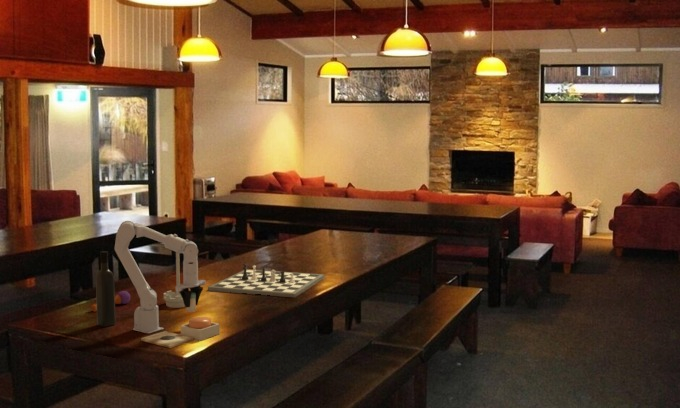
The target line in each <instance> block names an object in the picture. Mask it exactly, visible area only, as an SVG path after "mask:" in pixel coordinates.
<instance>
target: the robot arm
mask: <svg viewBox="0 0 680 408" xmlns="http://www.w3.org/2000/svg"><path fill="white" fill-rule="evenodd" d="M135 235H136V237H135ZM134 237H135V238H141V237H142V238H143V237H145V238H148V239H151V240H154V241H157V242H158V243H161V244H163V245H164V248H165V249H169V250H170V251H173V252H175V253H176V252H178V253H179V254H183V261H182V265H183V266H182V270H183V271H182V272H183V273H182V275H183V276H182V277H183V278H182V279H183V283H180V285H178V286H177V285H175V292H176V291H178V292H179V293H180V294H181V296H182V298H183V301H184V305H185V307H184V308H187V307H190V298H191V293H192V292H194V293H196V306H198V304H199V299H200V296H201V294H202V292H203V290H204V287H203V286H206V283H207V282H206V280H205V279H200V280H199V261H198V259H199V258H198V254H199V249H198V246H197V244H196V243H195V242H194V241H192V240H189V239H188V238H186V239H184V238H181V237H179V236H178V234H176V233H174V234H172V233H170V234H167V235H166V234H164V233H161V232H159V231H156V230H155V229H152V228H151V227H150V228H149V227H148V226H146V225H143V224H140V223H138V222H133V221H131V220H125V221H122V222H121V223H120V225H119V227H118V229H117V231H116V234H115V241H114V242H115V244H114V251H115V253H116V255H117V257H118V259H119V260H120V262H121V265H122V266H123V268H124V270H125V271H126V273H127V275H128V277H129V279H130V280H131V283H132V284H133V286H134V288H135V289H136V292H137V296H138V297H139V299H140V300H139V302H140V303H139V304H140V306H138V307H136V309H135V310H134V313H133V324H134V325H133V328H132V331H137V332H139V333H140V332H141V333H144V334H152V333H155V332H158V331H162V330H164V329H165V328H164V327H162V326H161V327H160V322H159V320H160V319H159V317H160V316H159V305H157V303H158V299H157V298H158V294H157V291H155V290H154V289H153V288H151V286H150V285H149V283H148V282H147V281H146V279H145V276H144V274H143V273H142V272H141V269H140V267H139V266H138V264H137V262H136V260H135V259H134V256H133V255H132V252H131V251H130V249H129V246H130V244H131V243H130V242H131V241H132V240H133V239H134ZM189 290H190V291H189Z"/></svg>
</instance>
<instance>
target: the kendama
mask: <svg viewBox="0 0 680 408" xmlns="http://www.w3.org/2000/svg"><path fill="white" fill-rule="evenodd" d="M130 301H131V294H130V293H129V292H128V291H127V290H121V291H119V292H118V293H117V294H115V305H127V304H128V303H129V302H130ZM90 310H91V312H92V311H93V312H94V313H97V303H94V304H91V306H90ZM93 312H92V313H93Z"/></svg>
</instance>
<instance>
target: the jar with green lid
mask: <svg viewBox="0 0 680 408" xmlns="http://www.w3.org/2000/svg"><path fill="white" fill-rule="evenodd" d="M196 311H197V305H196V293H194V292H192V293H191V298H190V307H186V312H190V313H191V312H192V313H193V312H196Z"/></svg>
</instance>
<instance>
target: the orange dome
mask: <svg viewBox="0 0 680 408" xmlns="http://www.w3.org/2000/svg"><path fill="white" fill-rule="evenodd" d="M211 322H212V318H211V317H207V316H196V317H191V318H190V319H188V323H189V327H191V328H195V329H204V328H207V327H210V326H211Z"/></svg>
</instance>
